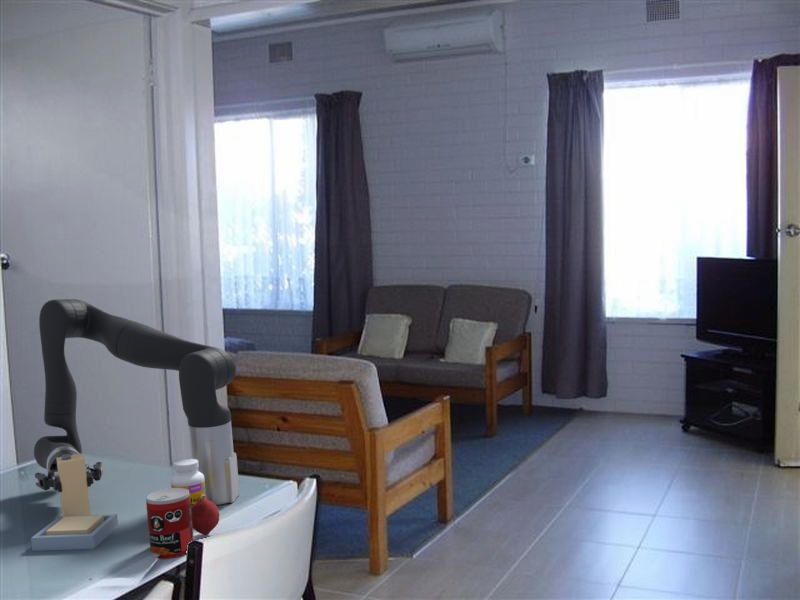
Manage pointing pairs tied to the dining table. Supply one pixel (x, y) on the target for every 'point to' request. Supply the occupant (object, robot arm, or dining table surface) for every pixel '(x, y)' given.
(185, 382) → the robot arm
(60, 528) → the beige slab
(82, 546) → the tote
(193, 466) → the supplement bottle
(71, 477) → the carton
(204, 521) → the onion
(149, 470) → the dining table surface
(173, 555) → the canned food
